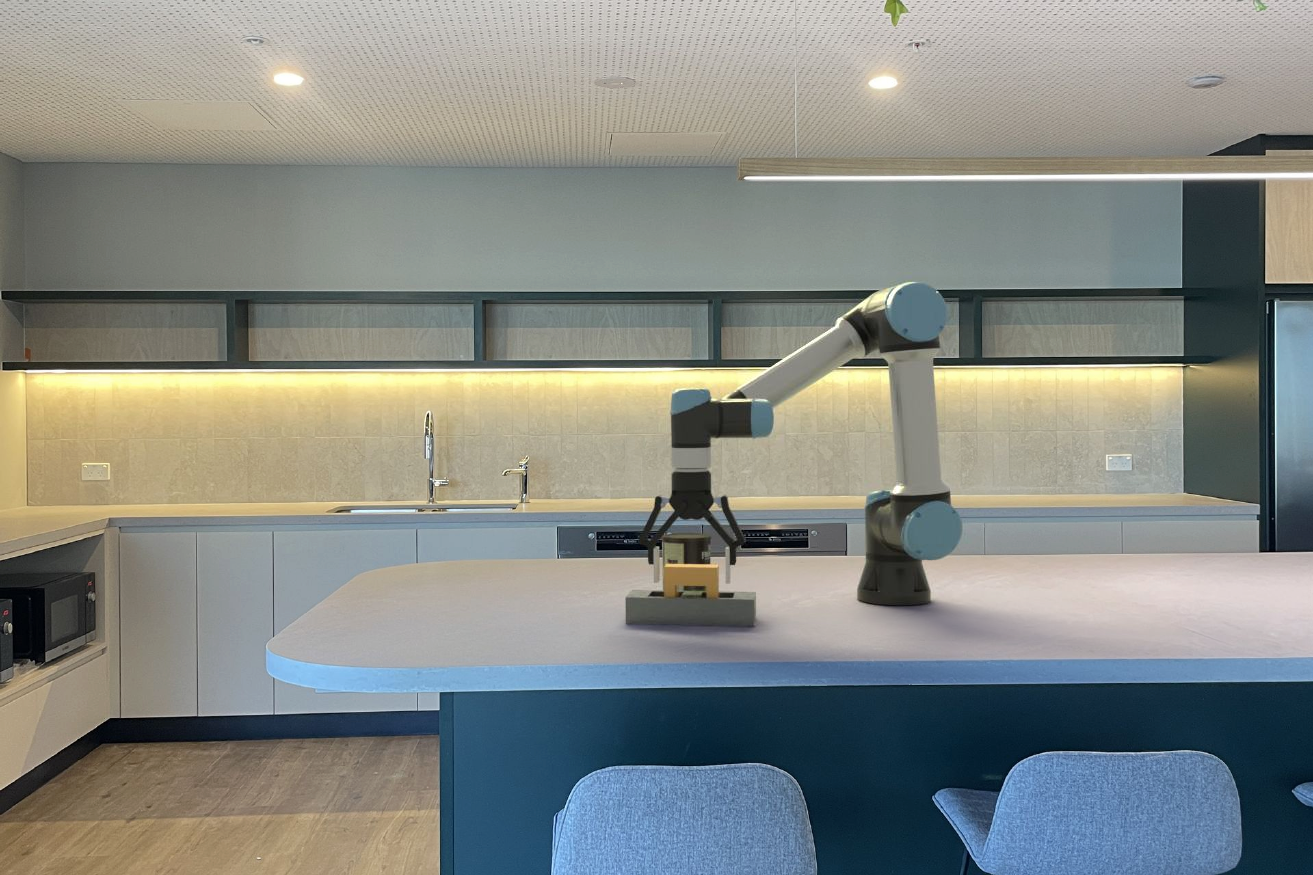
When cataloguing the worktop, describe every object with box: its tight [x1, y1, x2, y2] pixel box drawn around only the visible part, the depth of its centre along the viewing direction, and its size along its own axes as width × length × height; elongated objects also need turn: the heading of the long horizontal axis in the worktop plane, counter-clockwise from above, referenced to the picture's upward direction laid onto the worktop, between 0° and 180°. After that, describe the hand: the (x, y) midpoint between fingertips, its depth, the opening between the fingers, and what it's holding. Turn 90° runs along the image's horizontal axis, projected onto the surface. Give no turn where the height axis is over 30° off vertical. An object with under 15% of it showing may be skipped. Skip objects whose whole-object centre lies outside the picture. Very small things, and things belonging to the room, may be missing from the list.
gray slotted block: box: [624, 589, 757, 628], centre depth 203 cm, size 24×8×5 cm, turn 83°
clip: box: [664, 563, 720, 598], centre depth 203 cm, size 10×4×10 cm, turn 83°
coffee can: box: [661, 532, 712, 591], centre depth 223 cm, size 10×10×14 cm
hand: (692, 582), depth 203 cm, fingers open, 13 cm apart
